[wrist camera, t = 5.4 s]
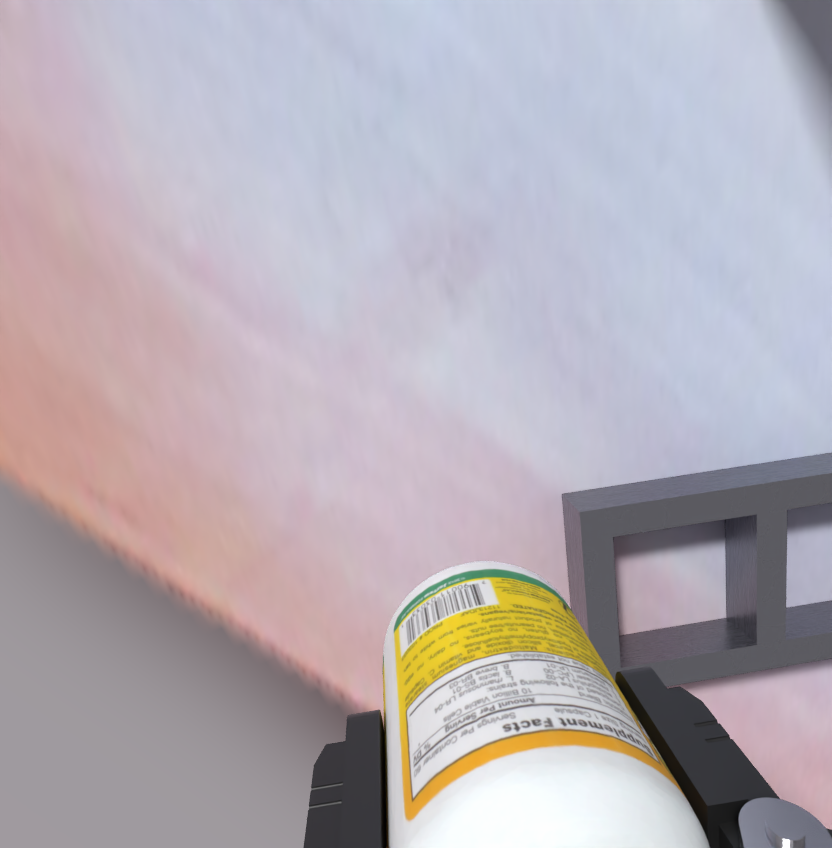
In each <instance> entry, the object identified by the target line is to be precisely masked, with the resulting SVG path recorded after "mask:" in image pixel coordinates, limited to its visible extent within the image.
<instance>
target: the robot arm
mask: <svg viewBox="0 0 832 848" xmlns="http://www.w3.org/2000/svg"><path fill="white" fill-rule="evenodd" d="M615 682H616V684H617V686H618V687H619V689H620V691H621V692H622V694H623V695H624V697H625V699H626V700H627V702H628V704H629V706H630V707H631V709H632V711H633V712H634V714H635V715H636V717H637V719H638V720H639V722H640V724H641V725H642V727H643V728H644V730H645V731H646V733H647V734H648V736H649V738H650V739H651V741H652V743H653V744H654V746H655V748H656V749H657V751H658V752H659V754H660V755H661V757H662V759H663V760H664V762H665V764H666V766H667V767H668V769H669V771H670V772H671V774H672V775H673V777H674V778H675V780H676V781H677V783H678V784H679V786H680V788H681V790H682V792H683V793H684V795H685V797H686V798H687V800H688V802H689V804H690V806H691V807H692V809H693V811H694V813H695V814H696V816H697V818H698V820H699V822H700V824H701V826H702V828H703V830H704V832H705V835H706V837H707V839H708V843H709V846H710V848H832V830H830V829H826V828H825V827H824V826H823V824H822V823H821V822H820V821H819V820H818V819H817V818H815V817H814V816H813V815H812V814H810V813H809V812H808V811H806V810H804V809H803V808H801V807H799V806H797V805H795V804H793V803H791V802H788V801H785V800H781V799H780V798H779V797H778V796H777V795H776V793H775V792H774V791H773V790H772V788H771V787H770V786H769V785H768V783H767V782H766V781H765V780H764V778H763V777H762V776H761V775H760V773H759V772H758V771H757V770H756V768H755V767H754V766H753V765H752V763H751V762H750V761H749V760H748V758H747V757H746V756H745V755H744V753H743V752H742V751H741V750H740V748H739V747H738V746H737V745H736V743H735V742H734V741H733V740H732V739H730V737H729V734H728V733H727V732H726V731H725V729H724V728H723V727H722V726H721V724H718V723H717V719H716V718H715V717H714V716H713V714H712V713H711V712H710V711H709V709H708V708H707V707H706V706H705V704H704V703H703V702H702V701H701V700H699V699H698V698H696V697H695V696H693V695H692V694H690V693H689V692H687V691H686V690H684V689H683V688H681V687H675V688H669V689H667V688H666V686H665V685H664V683H663V682H662V681H661V679H660V678H659V677H658V675H657V674H656V673H655V671H654V670H653V669H652V668H651V667H642V668H636V669H630V670H623V671H618V672H616V675H615ZM311 788H312V791H311V794H310V802H309V810H308V817H307V826H306V834H305V841H304V848H386V786H385V745H384V727H383V722H382V716H381V712H380V710H375V711H369V712H363V713H357V714H351V715H348V717H347V728H346V741H344V742H338V743H332V744H327V745H326V746H325V747H324V749H323V751H322V752H321V754H320V756H319V758H318V759H317V761H316V763H315V765H314V770H313V778H312V786H311Z"/></svg>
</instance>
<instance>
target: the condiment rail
mask: <svg viewBox="0 0 832 848" xmlns="http://www.w3.org/2000/svg"><path fill="white" fill-rule="evenodd" d="M562 501H563V514H564V527H565V539H566V552H567V565H568V577H569V590H570V602H571V610H572V612H573V614H574V616H575V617H576V619H577V621H578V622H579V624H580V625H581V627H582V629H583V630H584V632H585V633H586V635H587V637H588V638H589V640H590V642H591V643H592V645H593V646H594V648H595V649H596V651H597V653H598V654H599V656H600V658H601V659H602V661H603V663H604V664H605V666H606V668H607V669H608V671H609V672H610V674H611V676H612V677H613V679H614V681H615V675H616V672H618V671H623V670H630V669H636V668H642V667H651V668H652V669H653V670H654V671H655V673H656V674H657V675H658V677H659V678H660V679H661V681H662V682H663V683H664V685H665V686H666V687H667V686H673V685H679V684H685V683H691V682H697V681H702V680H708V679H714V678H720V677H726V676H732V675H737V674H743V673H749V672H755V671H761V670H767V669H772V668H778V667H784V666H790V665H796V664H802V663H808V662H813V661H819V660H825V659H831V658H832V601H826V602H820V603H814V604H808V605H802V606H796V607H790V608H786V565H787V510H788V509H794V508H801V507H807V506H813V505H820V504H826V503H832V453H827V454H820V455H814V456H807V457H801V458H794V459H788V460H781V461H774V462H768V463H761V464H755V465H748V466H742V467H735V468H729V469H722V470H716V471H709V472H703V473H696V474H690V475H683V476H677V477H670V478H664V479H657V480H650V481H644V482H637V483H631V484H624V485H618V486H611V487H605V488H598V489H592V490H585V491H579V492H572V493H566V494H562ZM724 519H725V531H726V607H727V618H724V619H718V620H712V621H706V622H700V623H694V624H688V625H682V626H676V627H670V628H664V629H658V630H652V631H646V632H640V633H634V634H628V635H622V636H619V629H618V612H617V595H616V578H615V562H614V545H613V537H617V536H623V535H629V534H636V533H642V532H648V531H655V530H661V529H667V528H674V527H680V526H686V525H693V524H699V523H705V522H712V521H718V520H724Z"/></svg>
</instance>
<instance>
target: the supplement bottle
mask: <svg viewBox="0 0 832 848" xmlns="http://www.w3.org/2000/svg"><path fill="white" fill-rule="evenodd" d="M383 687H384V691H383V698H384V745H385V786H386V848H710V846H709V843H708V839H707V837H706V835H705V832H704V830H703V828H702V826H701V824H700V822H699V820H698V818H697V816H696V814H695V813H694V811H693V809H692V807H691V806H690V804H689V802H688V800H687V798H686V797H685V795H684V793H683V792H682V790H681V788H680V786H679V784H678V783H677V781H676V780H675V778H674V777H673V775H672V774H671V772H670V771H669V769H668V767H667V766H666V764H665V762H664V760H663V759H662V757H661V755H660V754H659V752H658V751H657V749H656V748H655V746H654V744H653V743H652V741H651V739H650V738H649V736H648V734H647V733H646V731H645V730H644V728H643V727H642V725H641V724H640V722H639V720H638V719H637V717H636V715H635V714H634V712H633V711H632V709H631V707H630V706H629V704H628V702H627V700H626V699H625V697H624V695H623V694H622V692H621V691H620V689H619V687H618V686H617V684H616V682H615V681H614V679H613V677H612V676H611V674H610V672H609V671H608V669H607V668H606V666H605V664H604V663H603V661H602V659H601V658H600V656H599V654H598V653H597V651H596V649H595V648H594V646H593V645H592V643H591V642H590V640H589V638H588V637H587V635H586V633H585V632H584V630H583V629H582V627H581V625H580V624H579V622H578V621H577V619H576V617H575V616H574V614H573V612H572V610H571V609H570V608H569V606H568V605H567V603H566V601H565V600H564V599H563V597H562V596H561V595H560V593H559V592H558V591H557V590H556V589H555V588H554V587H553V586H552V585H551V584H550V583H549V582H548V581H546V580H545V579H544V578H542V577H541V576H539V575H537V574H535V573H534V572H531V571H529V570H527V569H525V568H522V567H519V566H515V565H511V564H507V563H502V562H495V561H477V562H470V563H466V564H461V565H457V566H453V567H450V568H447V569H445V570H443V571H441V572H438V573H436V574H434V575H433V576H431V577H430V578H428V579H426V580H425V581H424V582H422V583H421V584H420V585H418V586H417V587H416V588H415V589H414V590H413V591H412V592H410V593H409V594H408V596H407V597H406V598H405V599H404V601H403V602H402V603H401V605H400V606H399V607H398V609H397V611H396V612H395V614H394V616H393V618H392V620H391V622H390V624H389V627H388V630H387V633H386V637H385V642H384V649H383Z"/></svg>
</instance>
